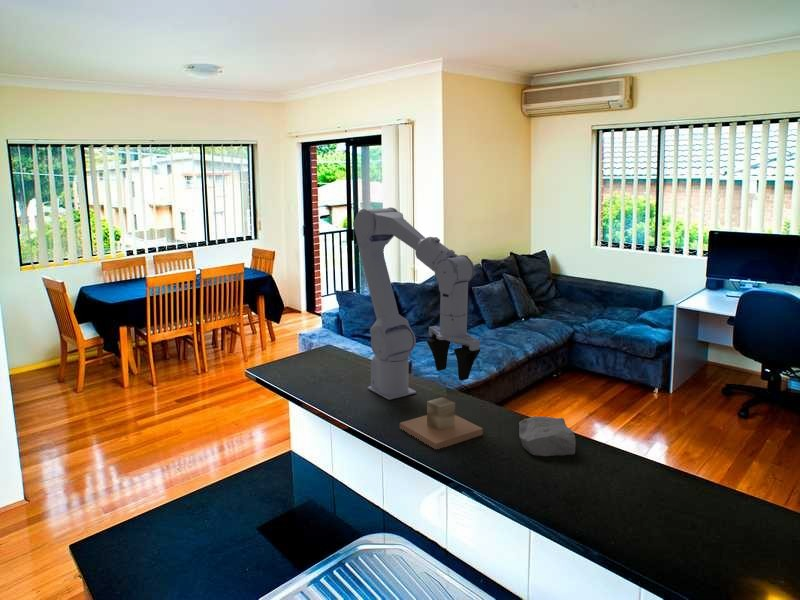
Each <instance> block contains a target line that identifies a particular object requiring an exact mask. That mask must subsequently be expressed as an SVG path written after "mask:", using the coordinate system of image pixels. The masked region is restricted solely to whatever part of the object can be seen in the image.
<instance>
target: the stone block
mask: <svg viewBox="0 0 800 600" xmlns="http://www.w3.org/2000/svg"><path fill="white" fill-rule="evenodd" d="M518 423H519V424H518V427H519V430H518V432H519V439H520V441H521V444H522V447H523V449H525V450H526V451H527V452H528V453H529V454H531V455H532V456H539V457H540V456H542V457H550V456H574V455H575V453H576V446H577V445H576V444H577V441H576V436H575V434H574V433H575V432H573V430H572V429H571V428H570V427H568V426H567V424H566V421H565V419H564V417H559V418H558V417H552V416H551V417H550V416H531V417H529V418H524V419H523V420H520V421H519V422H518Z"/></svg>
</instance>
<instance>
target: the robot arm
mask: <svg viewBox="0 0 800 600" xmlns="http://www.w3.org/2000/svg"><path fill="white" fill-rule="evenodd" d="M355 215H356V216H355V218H354V221H353V223H352V224H353V229H354V232H355V237H356V240H357V244H358V251H359V256H360V259H361V263H362V267H363V271H364V276H365V279H366V283H367V287H368V291H369V295H370V298H371V302H372V307H373V311H374V314H375V317H376V320H375V322H374V323H373V325H372V326H371V327H370V329H369V334H370V347H371V351H372V353H373V354H374V356H373V357H372V359H371V362H370V385H369V386H367V389H368V390H369V391H372V392H373V393H375V394H378V395H379V396H381V397H383V398H384V399H387V400H389V401H390V400H394V399H398V398H402V397H407V396H410V395H414V394H416V393H417V391H416V390H414V389H412V388H410V387H409V357H410V356H411V355H412V351H413V350H414V349H415V347H416V343H417V342H416V335H415V333H414V332H413V330H412V328H411V326H410V322H409V320H408V319H407V318H405V317H404V316H402V315H401V314H399V309H398V305H397V301H396V298H395V295H394V290H393V286H392V282H391V278H390V274H389V269H388V267H387V262H386V259H385V256H384V255H385V254H384V249H385V247H386V246H387V245H388V244H389V242H390V241H391V240H393V238H394V237H395V238H397V239H398V240H400V241H401V242H403V243H404V244H406V245H407V246H408V247H410V248H411V249H413V250H415V257H416V259H417V260H418V261H420V263H422V264H424V265H425V266H426V267H428V269H429V270H430V271H433V272H434V276H435V279H436V282H437V283H438V291H439V293H440V307H439V309H440V310H439V311H440V312H439V317H440V318H439V326H438V325H433V326H429V327H428V335H429V336H430V337H431V338H427V339H426V343H427V345H428V347H429V349H430V351H431V354H432V356H433V360H434V364H435V368H436V371H438V372H440V371H444V370H446V369H447V367H448V366H447V365H448V353H449V348H450V345H451V343H454V344H456V345H459V346H461V347H457V348H453V353H454V354H455V357H456V361H457V362H456V363H457V373H458V374H457V375H458V376H457V377H458V380H459V381H461V382H462V381H466V380H469V377H470V375H471V374H470V373H471V371H472V368H473V365H474V363H475V361H476V359H477V357H478V356H479V354H480V352H481V348H480V340H479V339H477V338H475V337H473V336H472V335H470V334H469V333H468V331H467V330H468V329H467V328H468V304H469V303H468V299H469V282H470V281H471V280H472V279H473V277H474V275H475V265H474V263H473V261H472V260H471V258H469V257H468V255H466V254H459V255H458V254H456V252H455V251H454V250H453V249H449V248H448V247H447V246H445V245H444V244H443V243H441V239H440V238H439V237H435V236H434V237H433V236H428V237H425V236H424V235H423V234H422V233H421V232H420V231H418V229H416V228H415V227H414V226H413V225H412V224H411V223H409V222H408V221H407V220H406V219H405V218H404V215H403V213H402V212H401V211H398V210H397V208H394V207H386V208H372V209H371V208H369V209H368V208H362V209H360V210H358V212H357V214H355ZM387 329H389V330H387Z"/></svg>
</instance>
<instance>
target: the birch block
mask: <svg viewBox="0 0 800 600" xmlns="http://www.w3.org/2000/svg"><path fill="white" fill-rule="evenodd" d="M455 413H456V402H454V401H452V400H449V399H448V398H445V397H442V396H441V397H438V398H433V399H431V400H427V401H426V415H427V425H429V426H431V427H433V428H435V429H437V430H439V431H441V430H444V429H447V428H450V427H453V426H455V415H456V414H455Z"/></svg>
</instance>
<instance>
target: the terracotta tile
mask: <svg viewBox="0 0 800 600" xmlns="http://www.w3.org/2000/svg"><path fill="white" fill-rule="evenodd" d="M401 429H402V430H401ZM399 430H401V431H403V430H404V431H405V432H404V431H403V432H404V433H406V432H407V433H406V434H408V435H409V436H411V435H412V436H411V437H413V436H414V437H413V438H415V439H416V438H417V440H418V439H419V440H418V441H420V442H421V441H422V442H421V443H423V442H424V443H423V444H425V445H426V444H427V445H426V446H428V445H429V448H431V447H432V449H433V448H434V449H433V450H435V449H438V450H441V449H444V448H447V447H449V446H452V445H457V444H459V443H462V442H464V441H468V440H472V439H473V438H474V439H475V438H477V437H480V436H483V433H484V432H483V430H484V428H482V427H481V426H478V425H476V424H474V423H473V422H470V421H469V420H467V419H464V418H462V417H460V416H458V415H456V414H455V426H453V427H450V428H447V429H444V430H441V431H439V430H437V429H435V428H433V427H431V426H429V425H427V414H426V415H422V416H418V417H415V418H411V419H408V420H405V421H401V422H399ZM443 447H444V448H443ZM440 448H441V449H440Z"/></svg>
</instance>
